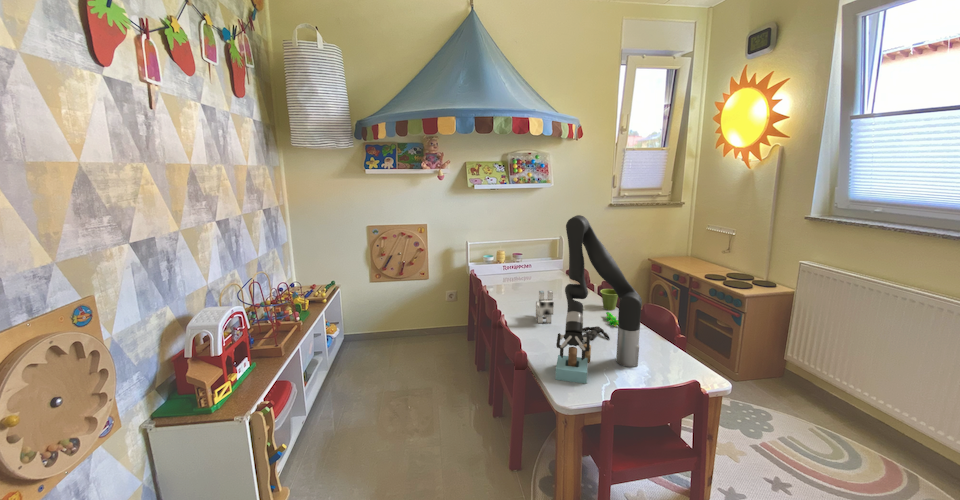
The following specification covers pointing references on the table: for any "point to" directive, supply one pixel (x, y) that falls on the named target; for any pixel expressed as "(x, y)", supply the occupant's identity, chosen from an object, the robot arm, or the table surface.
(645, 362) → the table surface
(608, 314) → the green lumpy elongated piece
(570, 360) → the long pin
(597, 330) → the dark grey sprawling piece
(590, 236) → the robot arm
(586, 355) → the short pin
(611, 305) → the plant pot
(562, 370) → the hole block
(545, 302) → the toy llama
